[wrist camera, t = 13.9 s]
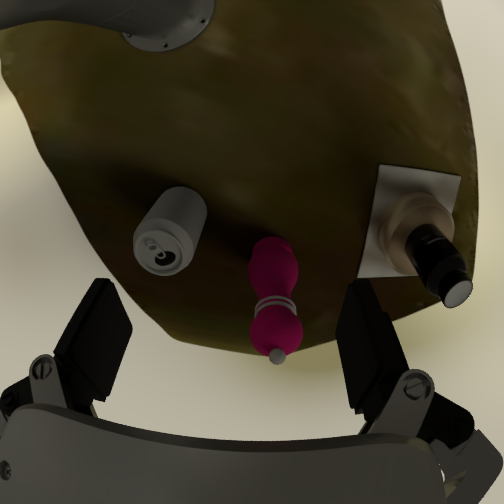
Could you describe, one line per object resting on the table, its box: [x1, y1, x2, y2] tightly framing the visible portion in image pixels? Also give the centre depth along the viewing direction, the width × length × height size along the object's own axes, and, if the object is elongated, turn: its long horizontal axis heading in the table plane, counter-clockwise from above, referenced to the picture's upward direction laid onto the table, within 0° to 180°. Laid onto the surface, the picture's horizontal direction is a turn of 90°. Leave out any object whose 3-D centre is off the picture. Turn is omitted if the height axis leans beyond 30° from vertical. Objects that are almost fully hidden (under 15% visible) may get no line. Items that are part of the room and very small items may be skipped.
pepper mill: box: [248, 236, 303, 365], centre depth 35 cm, size 7×7×20 cm
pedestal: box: [357, 164, 461, 278], centre depth 38 cm, size 20×16×4 cm
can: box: [133, 187, 207, 276], centre depth 34 cm, size 8×8×12 cm
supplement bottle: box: [405, 224, 473, 308], centre depth 31 cm, size 7×7×12 cm
